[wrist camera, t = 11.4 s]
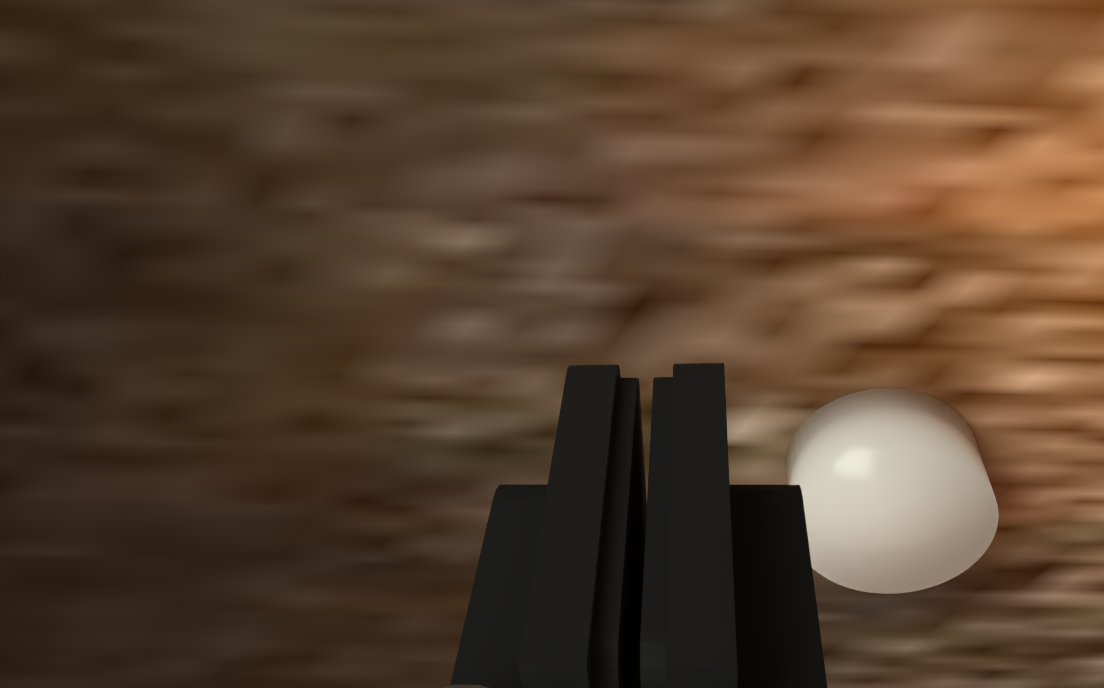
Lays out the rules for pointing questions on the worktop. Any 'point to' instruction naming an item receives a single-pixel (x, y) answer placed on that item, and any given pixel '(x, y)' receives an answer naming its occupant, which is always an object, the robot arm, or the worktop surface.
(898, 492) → the cream dome knob
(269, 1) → the worktop surface
